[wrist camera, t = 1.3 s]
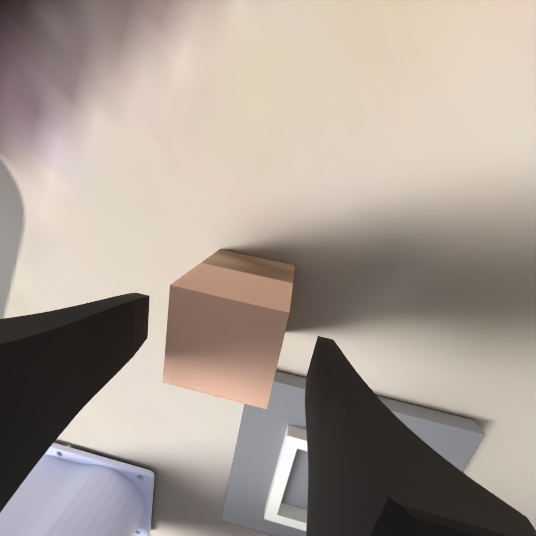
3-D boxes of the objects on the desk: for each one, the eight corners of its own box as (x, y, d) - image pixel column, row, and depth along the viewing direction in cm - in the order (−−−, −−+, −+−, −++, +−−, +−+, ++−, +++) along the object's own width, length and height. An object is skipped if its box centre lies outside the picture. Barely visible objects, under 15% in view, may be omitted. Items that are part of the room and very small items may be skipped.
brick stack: (211, 315, 17) (162, 382, 11) (220, 248, 15) (170, 285, 9) (279, 331, 16) (266, 409, 11) (295, 265, 15) (289, 312, 9)
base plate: (224, 505, 21) (217, 533, 20) (253, 364, 17) (247, 384, 15) (397, 555, 20) (406, 589, 19) (474, 420, 16) (494, 447, 14)
